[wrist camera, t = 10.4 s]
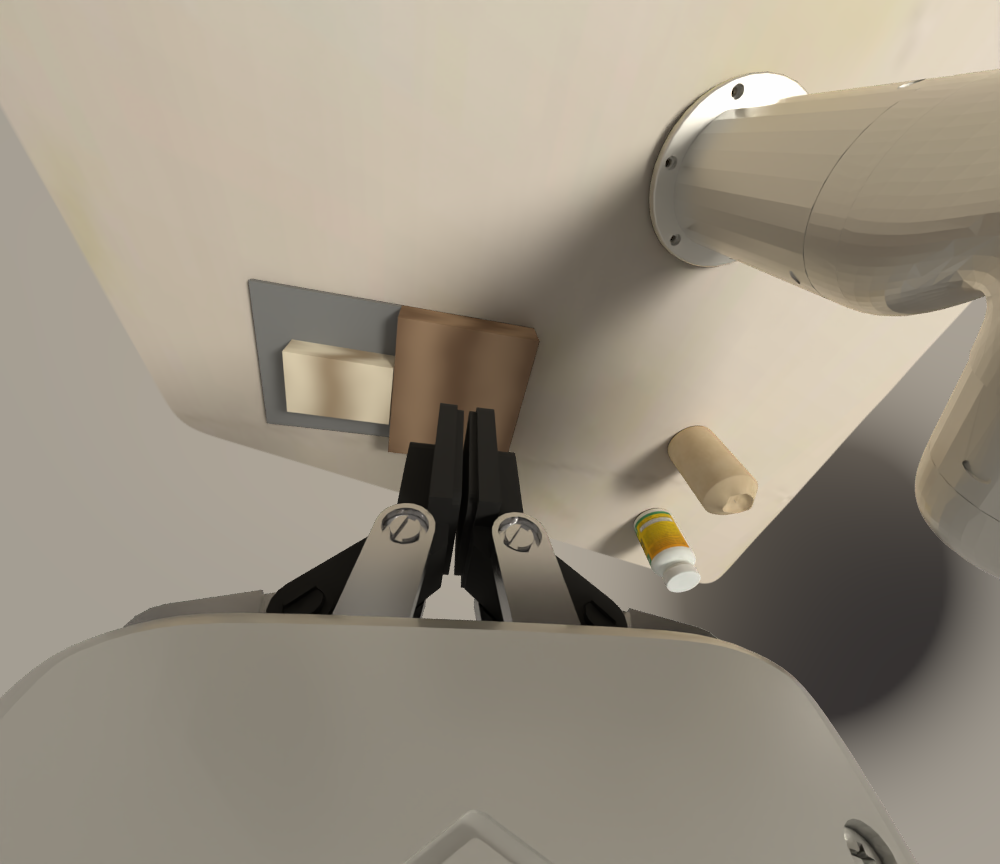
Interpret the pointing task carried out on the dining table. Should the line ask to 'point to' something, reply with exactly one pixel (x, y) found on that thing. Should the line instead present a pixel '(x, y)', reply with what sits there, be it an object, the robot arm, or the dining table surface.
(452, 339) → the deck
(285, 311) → the mat
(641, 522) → the supplement bottle
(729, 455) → the candle
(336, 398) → the tile
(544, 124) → the dining table surface
